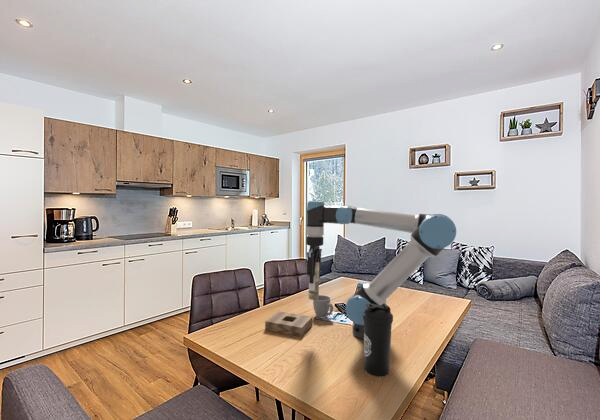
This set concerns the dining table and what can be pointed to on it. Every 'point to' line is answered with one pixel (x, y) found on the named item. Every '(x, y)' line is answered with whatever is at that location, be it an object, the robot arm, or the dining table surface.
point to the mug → (322, 306)
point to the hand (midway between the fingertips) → (313, 288)
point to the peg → (315, 294)
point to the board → (289, 323)
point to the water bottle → (377, 339)
